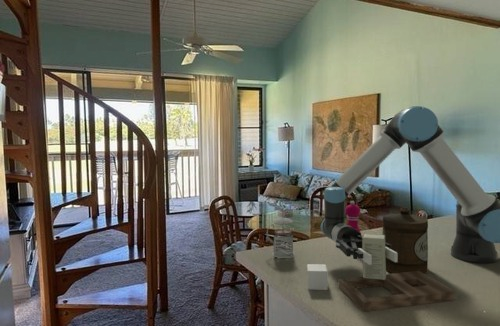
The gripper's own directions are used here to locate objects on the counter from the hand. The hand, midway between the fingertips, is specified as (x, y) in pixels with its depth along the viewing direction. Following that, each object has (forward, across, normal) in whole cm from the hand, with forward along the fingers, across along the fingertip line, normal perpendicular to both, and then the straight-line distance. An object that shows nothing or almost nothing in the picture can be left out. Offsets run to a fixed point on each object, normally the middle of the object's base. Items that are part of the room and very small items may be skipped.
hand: (383, 258), depth 99 cm
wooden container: (-22, -21, -13) cm, 33 cm away
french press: (-48, +17, -13) cm, 52 cm away
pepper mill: (-49, -15, -13) cm, 53 cm away
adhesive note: (-16, +14, -13) cm, 25 cm away
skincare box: (-5, 0, -7) cm, 9 cm away
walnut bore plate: (-5, -6, -13) cm, 15 cm away
